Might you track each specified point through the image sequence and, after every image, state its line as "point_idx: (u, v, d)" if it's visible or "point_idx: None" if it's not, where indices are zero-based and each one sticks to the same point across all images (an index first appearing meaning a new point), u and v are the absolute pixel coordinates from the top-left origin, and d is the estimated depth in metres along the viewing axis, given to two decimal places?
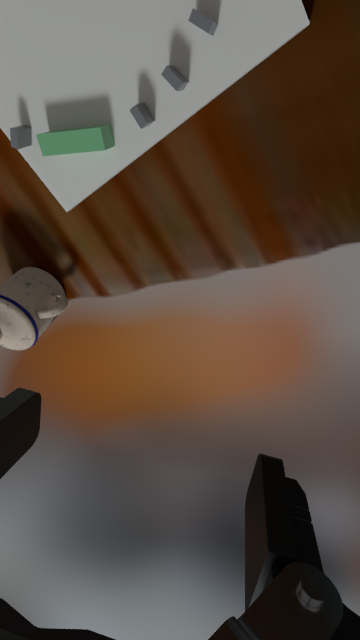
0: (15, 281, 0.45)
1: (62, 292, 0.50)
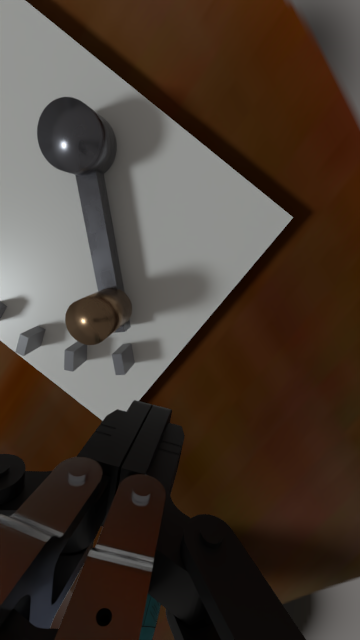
0: None
1: None
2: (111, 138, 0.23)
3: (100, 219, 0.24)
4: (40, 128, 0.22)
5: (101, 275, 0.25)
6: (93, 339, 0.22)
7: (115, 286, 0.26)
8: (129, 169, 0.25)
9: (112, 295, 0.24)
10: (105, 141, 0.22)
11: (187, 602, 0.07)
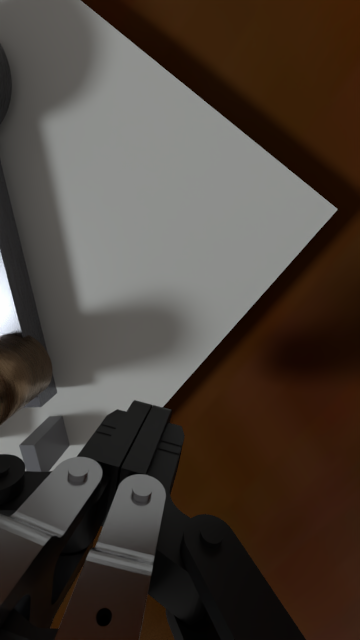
0: None
1: None
2: None
3: None
4: None
5: None
6: None
7: (19, 331, 0.15)
8: (39, 124, 0.14)
9: (3, 353, 0.13)
10: None
11: (187, 602, 0.07)
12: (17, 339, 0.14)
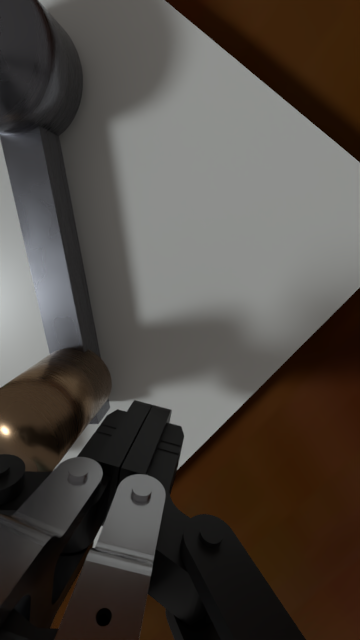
0: None
1: None
2: (68, 58, 0.11)
3: (50, 222, 0.13)
4: None
5: (54, 325, 0.14)
6: None
7: (80, 346, 0.14)
8: (108, 128, 0.13)
9: (71, 370, 0.12)
10: (53, 58, 0.10)
11: (187, 602, 0.07)
12: (79, 354, 0.14)
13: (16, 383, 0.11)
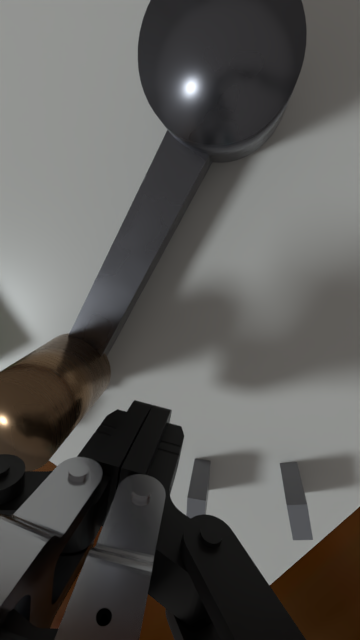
0: None
1: None
2: (278, 120, 0.11)
3: (154, 238, 0.12)
4: None
5: (91, 318, 0.13)
6: None
7: (101, 349, 0.14)
8: (308, 136, 0.12)
9: (87, 378, 0.12)
10: (272, 124, 0.10)
11: (187, 602, 0.07)
12: (97, 358, 0.13)
13: (41, 377, 0.11)
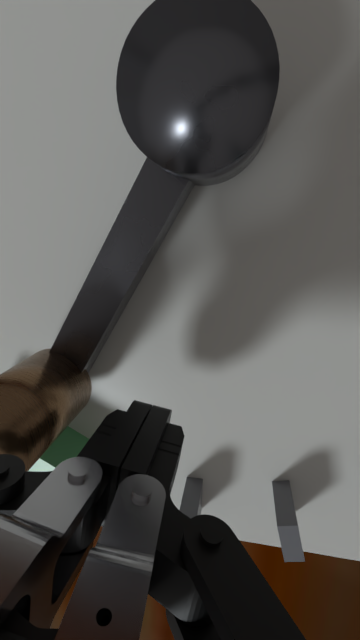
0: None
1: None
2: (257, 148, 0.11)
3: (134, 259, 0.12)
4: (150, 17, 0.09)
5: (72, 335, 0.13)
6: None
7: (82, 365, 0.14)
8: (302, 105, 0.12)
9: (65, 395, 0.12)
10: (249, 153, 0.10)
11: (187, 602, 0.07)
12: (77, 374, 0.13)
13: (16, 396, 0.11)
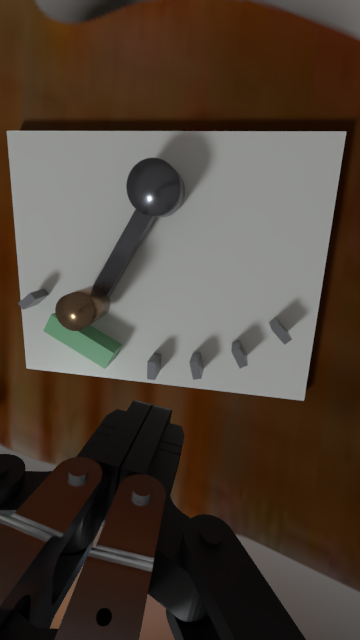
0: None
1: None
2: (178, 205, 0.29)
3: (131, 246, 0.30)
4: (138, 166, 0.27)
5: (103, 278, 0.31)
6: (68, 325, 0.28)
7: (107, 292, 0.32)
8: (198, 187, 0.30)
9: (101, 301, 0.30)
10: (173, 208, 0.28)
11: (187, 602, 0.07)
12: (105, 295, 0.31)
13: (85, 295, 0.28)
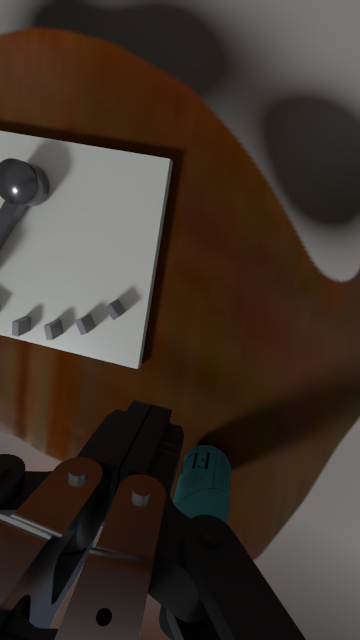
0: None
1: None
2: (40, 198, 0.36)
3: (3, 226, 0.37)
4: (3, 163, 0.34)
5: None
6: None
7: None
8: (61, 186, 0.37)
9: None
10: (32, 200, 0.35)
11: (187, 602, 0.07)
12: None
13: None
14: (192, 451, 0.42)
